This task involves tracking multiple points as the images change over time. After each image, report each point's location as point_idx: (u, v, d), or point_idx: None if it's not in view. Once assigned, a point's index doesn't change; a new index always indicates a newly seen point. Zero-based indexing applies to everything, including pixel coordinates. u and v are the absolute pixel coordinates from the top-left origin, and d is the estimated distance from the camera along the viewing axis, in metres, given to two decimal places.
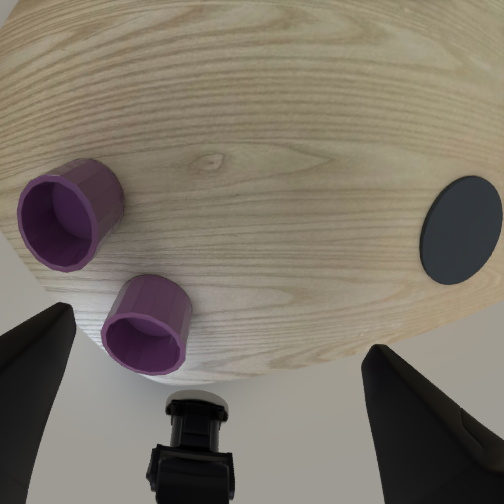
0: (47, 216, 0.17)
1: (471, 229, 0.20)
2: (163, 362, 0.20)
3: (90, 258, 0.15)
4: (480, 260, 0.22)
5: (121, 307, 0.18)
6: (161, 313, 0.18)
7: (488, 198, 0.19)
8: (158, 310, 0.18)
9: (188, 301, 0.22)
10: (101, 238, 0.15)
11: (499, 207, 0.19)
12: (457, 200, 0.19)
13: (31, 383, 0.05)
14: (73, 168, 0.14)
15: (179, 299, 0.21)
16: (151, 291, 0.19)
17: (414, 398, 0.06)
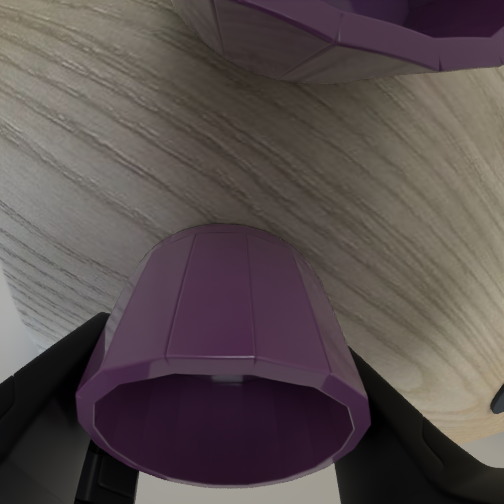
0: None
1: None
2: (204, 457, 0.07)
3: (438, 62, 0.02)
4: None
5: (268, 326, 0.04)
6: None
7: None
8: None
9: None
10: None
11: None
12: None
13: None
14: None
15: None
16: (323, 301, 0.06)
17: None
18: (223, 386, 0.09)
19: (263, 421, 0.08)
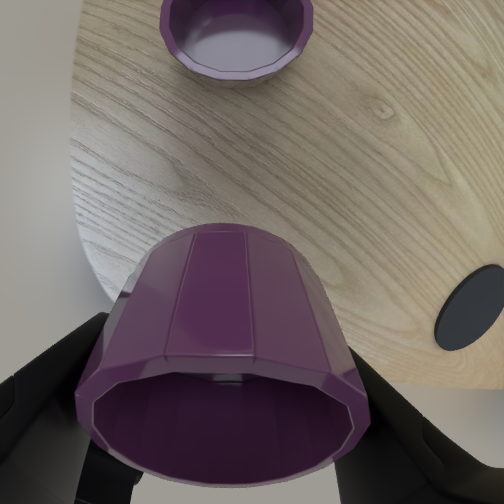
0: (188, 12, 0.11)
1: (480, 309, 0.22)
2: (203, 456, 0.07)
3: (248, 78, 0.10)
4: (468, 340, 0.24)
5: (267, 325, 0.04)
6: None
7: (502, 293, 0.21)
8: None
9: None
10: (277, 72, 0.10)
11: (502, 306, 0.22)
12: (489, 280, 0.20)
13: None
14: None
15: None
16: (322, 300, 0.06)
17: (368, 403, 0.06)
18: (223, 385, 0.09)
19: (262, 420, 0.08)
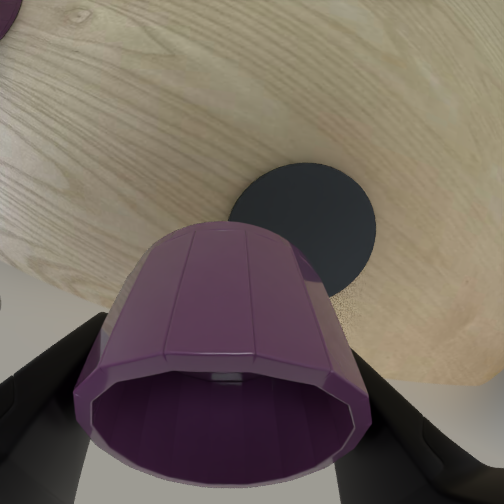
0: None
1: (313, 239, 0.19)
2: (203, 456, 0.07)
3: None
4: None
5: (267, 323, 0.04)
6: None
7: (357, 215, 0.18)
8: None
9: None
10: None
11: (370, 241, 0.19)
12: (307, 186, 0.17)
13: None
14: None
15: None
16: (323, 298, 0.06)
17: None
18: (222, 385, 0.09)
19: (262, 420, 0.08)
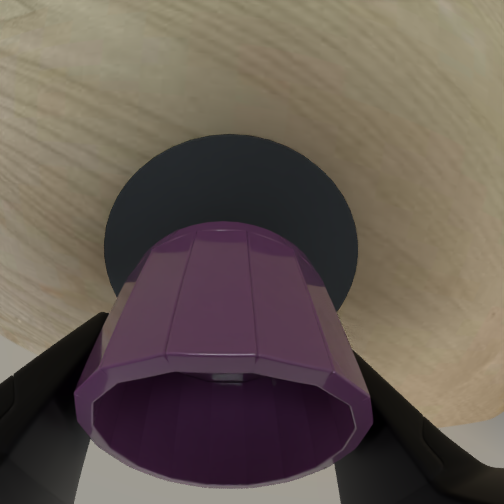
0: None
1: None
2: (204, 456, 0.07)
3: None
4: None
5: (269, 323, 0.04)
6: None
7: (322, 225, 0.11)
8: None
9: None
10: None
11: (348, 268, 0.11)
12: (221, 175, 0.10)
13: None
14: None
15: None
16: (324, 299, 0.06)
17: None
18: (223, 385, 0.09)
19: (264, 420, 0.08)
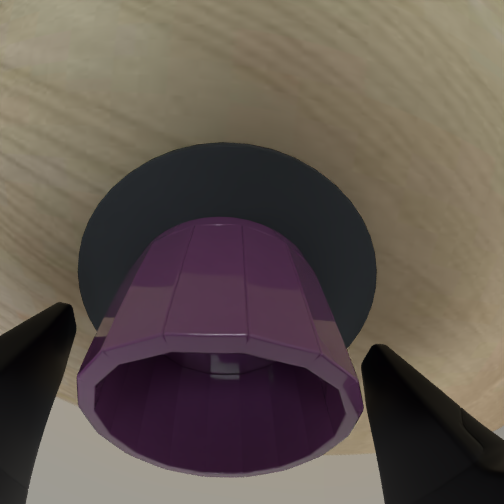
0: None
1: None
2: (201, 445, 0.07)
3: None
4: None
5: (260, 308, 0.05)
6: None
7: (336, 255, 0.09)
8: None
9: None
10: None
11: (364, 301, 0.10)
12: (212, 196, 0.08)
13: (31, 383, 0.05)
14: None
15: None
16: (316, 289, 0.07)
17: (414, 398, 0.06)
18: (221, 377, 0.10)
19: (259, 411, 0.08)
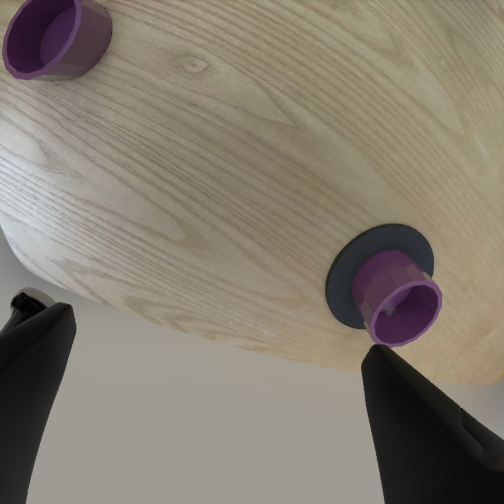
0: (37, 32, 0.11)
1: None
2: (385, 335, 0.21)
3: (42, 73, 0.11)
4: None
5: (424, 275, 0.18)
6: None
7: (422, 261, 0.22)
8: None
9: None
10: (63, 61, 0.11)
11: None
12: (392, 242, 0.21)
13: (31, 383, 0.05)
14: None
15: None
16: None
17: (414, 398, 0.06)
18: (379, 313, 0.23)
19: (399, 322, 0.22)
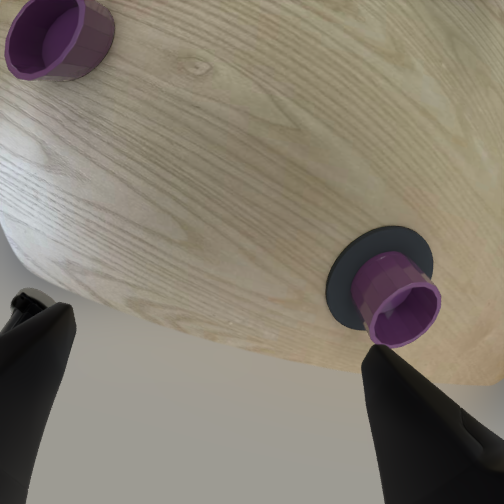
0: (39, 32, 0.11)
1: None
2: (385, 336, 0.21)
3: (44, 73, 0.11)
4: None
5: (424, 277, 0.18)
6: None
7: (421, 263, 0.22)
8: None
9: None
10: (66, 62, 0.11)
11: None
12: (392, 244, 0.21)
13: (31, 383, 0.05)
14: None
15: None
16: None
17: (414, 398, 0.06)
18: (378, 314, 0.23)
19: (398, 323, 0.22)
